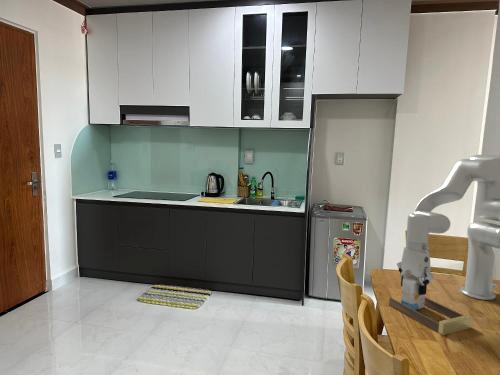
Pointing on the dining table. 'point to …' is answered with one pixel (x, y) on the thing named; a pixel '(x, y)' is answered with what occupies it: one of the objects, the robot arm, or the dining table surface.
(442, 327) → the slide guide
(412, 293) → the ink box
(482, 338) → the dining table surface
